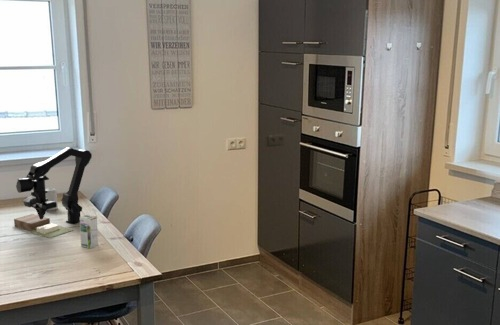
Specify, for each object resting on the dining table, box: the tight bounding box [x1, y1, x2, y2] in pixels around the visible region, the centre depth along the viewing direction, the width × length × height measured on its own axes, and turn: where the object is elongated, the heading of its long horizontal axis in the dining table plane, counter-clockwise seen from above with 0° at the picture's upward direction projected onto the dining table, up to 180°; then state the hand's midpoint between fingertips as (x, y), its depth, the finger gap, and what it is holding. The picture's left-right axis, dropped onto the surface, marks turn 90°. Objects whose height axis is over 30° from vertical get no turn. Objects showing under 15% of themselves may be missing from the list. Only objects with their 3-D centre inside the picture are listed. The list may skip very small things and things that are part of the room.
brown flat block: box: [13, 213, 51, 232], centre depth 278 cm, size 14×11×4 cm
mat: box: [28, 225, 74, 239], centre depth 270 cm, size 16×14×1 cm
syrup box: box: [79, 214, 99, 249], centre depth 249 cm, size 6×6×14 cm
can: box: [45, 187, 59, 212], centre depth 307 cm, size 8×8×12 cm
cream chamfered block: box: [36, 222, 60, 234], centre depth 270 cm, size 6×9×2 cm, turn 147°
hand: (41, 219), depth 273 cm, fingers closed
